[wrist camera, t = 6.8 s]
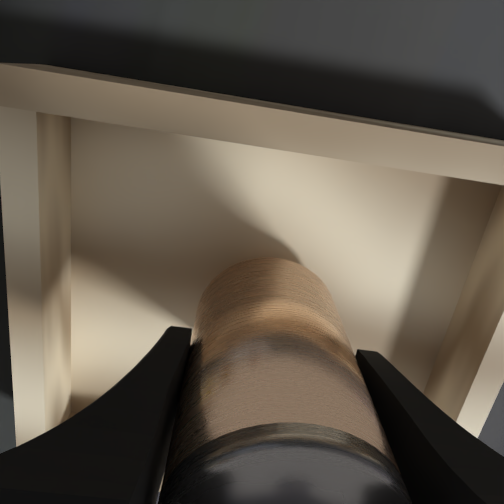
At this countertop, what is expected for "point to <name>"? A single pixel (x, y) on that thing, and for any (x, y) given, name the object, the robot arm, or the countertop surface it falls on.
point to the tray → (237, 231)
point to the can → (275, 400)
